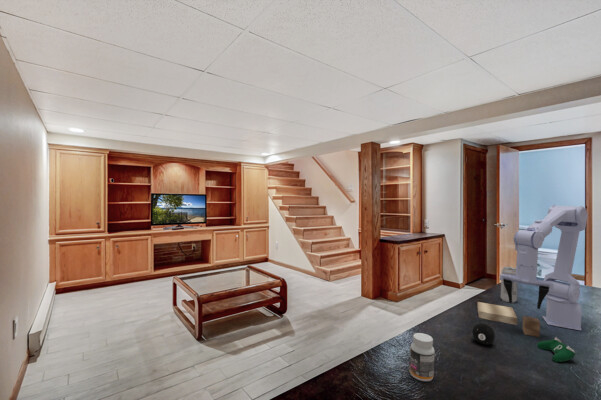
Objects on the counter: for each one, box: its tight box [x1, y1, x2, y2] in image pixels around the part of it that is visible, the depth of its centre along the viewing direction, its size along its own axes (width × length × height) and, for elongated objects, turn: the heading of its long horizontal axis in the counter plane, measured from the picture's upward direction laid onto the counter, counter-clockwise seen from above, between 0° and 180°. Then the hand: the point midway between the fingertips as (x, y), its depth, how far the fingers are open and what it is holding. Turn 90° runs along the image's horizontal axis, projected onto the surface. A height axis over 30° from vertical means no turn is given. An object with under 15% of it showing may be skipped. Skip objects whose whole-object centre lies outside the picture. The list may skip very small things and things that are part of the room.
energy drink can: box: [500, 266, 518, 304], centre depth 135 cm, size 6×6×15 cm
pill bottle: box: [409, 332, 436, 382], centre depth 76 cm, size 6×6×10 cm
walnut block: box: [522, 315, 541, 338], centre depth 102 cm, size 4×4×5 cm
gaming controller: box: [536, 336, 576, 363], centre depth 88 cm, size 9×4×6 cm
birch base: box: [476, 301, 518, 326], centre depth 117 cm, size 12×12×3 cm
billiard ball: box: [471, 322, 496, 345], centre depth 94 cm, size 6×6×6 cm
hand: (524, 305), depth 102 cm, fingers open, 7 cm apart
